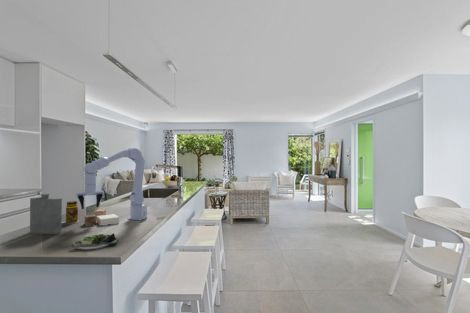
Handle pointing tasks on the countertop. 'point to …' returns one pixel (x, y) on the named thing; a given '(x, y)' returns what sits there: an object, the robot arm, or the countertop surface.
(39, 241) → the countertop surface
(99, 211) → the terracotta block
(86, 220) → the walnut cube
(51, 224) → the hip flask
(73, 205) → the condiment
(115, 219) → the base block
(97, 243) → the salad plate
